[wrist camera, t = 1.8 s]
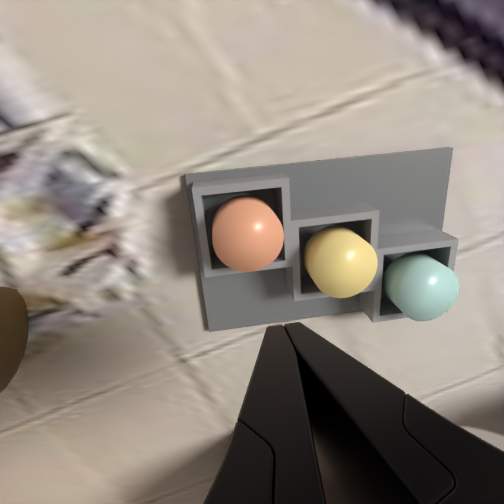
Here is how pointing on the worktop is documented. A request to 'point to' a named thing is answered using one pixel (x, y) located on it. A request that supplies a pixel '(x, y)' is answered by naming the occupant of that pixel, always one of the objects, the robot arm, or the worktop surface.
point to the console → (316, 218)
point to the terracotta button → (246, 233)
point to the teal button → (420, 286)
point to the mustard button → (339, 261)
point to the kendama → (11, 333)
